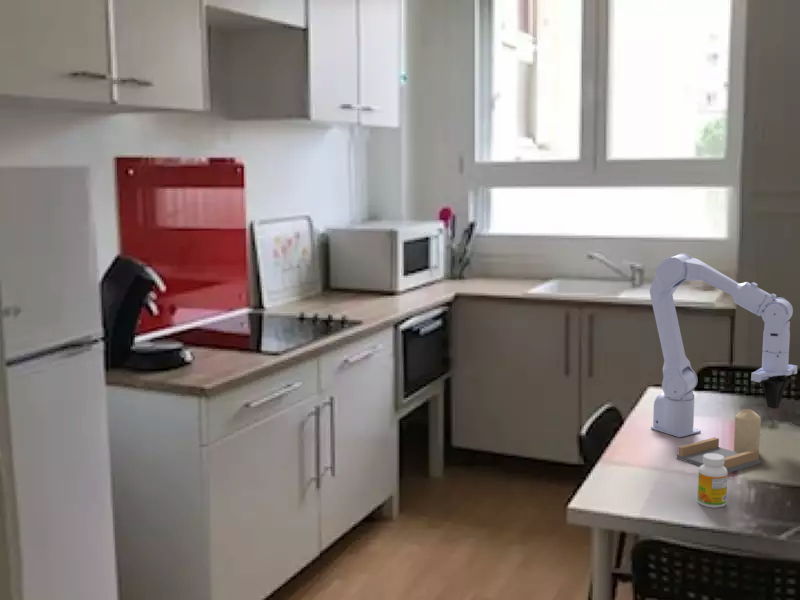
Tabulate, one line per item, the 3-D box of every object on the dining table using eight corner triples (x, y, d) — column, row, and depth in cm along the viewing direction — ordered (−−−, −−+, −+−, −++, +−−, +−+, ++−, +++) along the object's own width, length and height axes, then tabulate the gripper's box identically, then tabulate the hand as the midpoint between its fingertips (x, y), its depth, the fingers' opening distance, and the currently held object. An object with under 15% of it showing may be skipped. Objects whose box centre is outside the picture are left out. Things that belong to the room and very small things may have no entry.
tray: (676, 458, 211) (676, 446, 210) (712, 448, 217) (712, 436, 217) (723, 474, 200) (724, 461, 199) (760, 463, 206) (760, 451, 206)
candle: (761, 457, 211) (763, 414, 209) (735, 455, 212) (737, 413, 210) (756, 449, 216) (758, 408, 214) (732, 448, 217) (733, 407, 216)
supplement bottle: (693, 498, 186) (694, 452, 184) (719, 497, 186) (721, 451, 185) (704, 508, 181) (706, 461, 179) (730, 507, 181) (732, 460, 180)
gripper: (771, 357, 208) (768, 416, 210) (810, 349, 216) (807, 406, 218) (744, 352, 214) (742, 409, 216) (783, 344, 222) (780, 399, 224)
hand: (772, 407), depth 217 cm, fingers closed
